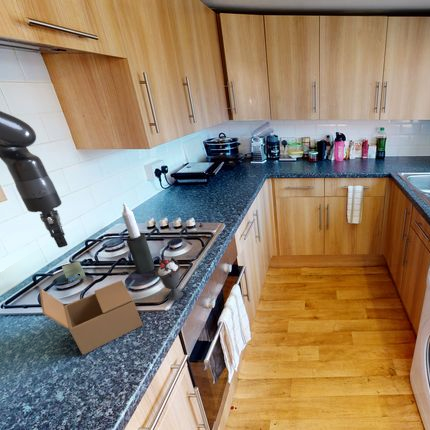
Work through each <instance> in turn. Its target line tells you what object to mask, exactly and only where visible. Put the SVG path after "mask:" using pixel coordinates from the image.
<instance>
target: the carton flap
mask: <svg viewBox="0 0 430 430" xmlns="http://www.w3.org/2000/svg"><path fill="white" fill-rule="evenodd" d="M39 296H40V304H41V311H42V314H43V316H46V317H47V318H49V319H51V320H52V321H54V322H55V323H57V324H58V325H60V326H62V327H63V328H65V329H69V326H68V322H67V318H66V314H65V310H64V306H65V305H64V303H63V302H61V301H60V300H59V299H58V298H56V297H54V296H52V294H50V293H48V292H47V291H45V290H44V289H42V288H39Z"/></svg>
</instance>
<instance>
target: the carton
mask: <svg viewBox="0 0 430 430" xmlns="http://www.w3.org/2000/svg"><path fill="white" fill-rule="evenodd" d="M93 292H94V293H92V294H90V295H88V296H85V297H83V298H80V299H78V300H74V301H72V302H70V303H67V304H65V305H63V306H64V310H65V314H66V318H67V322H68V326H69V327H68V331H69V332H70V334H71V337H72V339H73V340H74V342H75V344H76V346H77V347H78V349H79V351H80V353H81V354H82V356H84V355H86V354H88V353H90V352H92V351H95V350H96V349H98V348H100V347H102V346H104V345H106V344H108V343H110V342H112V341H114V340H115V339H118V338H120V337H122V336H124V335H126V334H128V333H129V332H132V331H134V330H136V329H138V328H140V327H142V326H143V325H144V324H143V322H142V319H141V317H140V313H139V311H138V309H137V306H136V303H135V301H134V300H133V298H132V296H131V294H130V292H129V291H128V289H127V287H126V285H125V283H124V281H123V280H122V279H121V280H119V281H116V282H113V283H110V284H108V285H106V286H104V287H101V288H98V289H96V290H94V291H93Z"/></svg>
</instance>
